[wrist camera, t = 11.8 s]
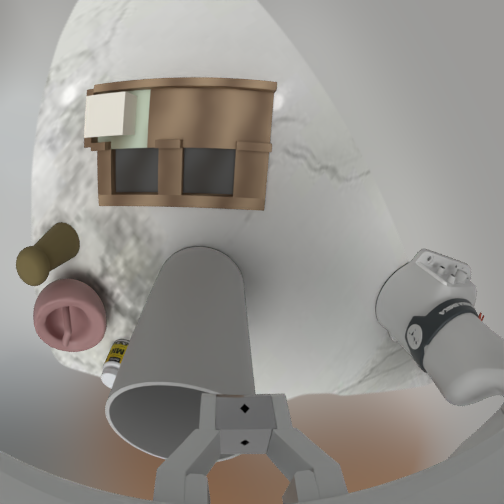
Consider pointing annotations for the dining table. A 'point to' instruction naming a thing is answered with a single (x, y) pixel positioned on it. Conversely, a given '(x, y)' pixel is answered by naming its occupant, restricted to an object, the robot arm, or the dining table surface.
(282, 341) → the dining table surface
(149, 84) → the box
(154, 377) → the cylinder vase
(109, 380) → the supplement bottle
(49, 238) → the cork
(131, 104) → the block
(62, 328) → the mortar and pestle
